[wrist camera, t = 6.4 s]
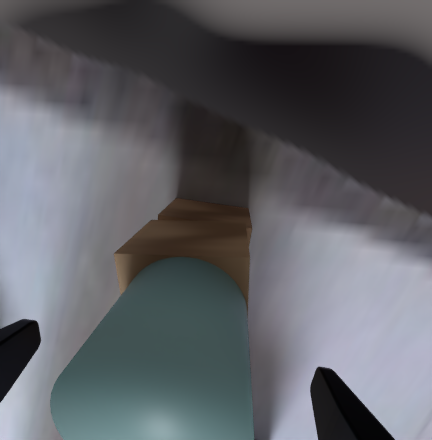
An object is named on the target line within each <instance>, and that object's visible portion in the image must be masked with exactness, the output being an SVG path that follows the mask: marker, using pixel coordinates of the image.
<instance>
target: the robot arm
mask: <svg viewBox="0 0 432 440" xmlns="http://www.w3.org/2000/svg"><path fill="white" fill-rule="evenodd" d="M40 342H41V337H40V331H39V325H38V322H37V321H35V320H29V319H22V320H19V321H17V322H15V323H13V324H10V325H8V326H6V327H4V328H1V329H0V402H1V401H2V400H3V398H4V397H5V396H6V394H7V393H8V392H9V390H10V389H11V387H12V386H13V384H14V383H15V381H16V380H17V378H18V377H19V375H20V374H21V373H22V371H23V370H24V368H25V367H26V365H27V364H28V362H29V361H30V359H31V358H32V356H33V355H34V354H35V352H36V351H37V349H38V347H39V345H40ZM310 393H311V399H312V405H313V411H314V417H315V423H316V429H317V435H318V440H395V439H394V438H393V437H392V436H391V434H390V433H389V432H388V431H387V430H386V429H385V428H384V427H383V425H382V424H381V423H380V422H379V421H378V420H377V419H376V418H375V416H374V415H373V414H372V413H371V412H370V411H369V410H368V409H367V408H366V406H365V405H364V404H363V403H362V402H361V401H360V400H359V399H358V397H357V396H356V395H355V394H354V393H353V392H352V391H351V390H350V388H349V387H348V386H347V385H346V384H345V383H344V382H343V381H342V379H341V378H340V377H339V376H338V375H337V374H336V373H335V372H334V371H333V370H332V369H330V368H325V367H318V368H317V369H316V371H315V374H314V377H313V380H312V383H311V387H310Z"/></svg>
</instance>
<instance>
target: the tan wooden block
mask: <svg viewBox="0 0 432 440" xmlns="http://www.w3.org/2000/svg"><path fill="white" fill-rule="evenodd" d="M114 257H115V263H116V269H117V275H118V281H119V287H120V293H121V295H122V293H123V292H124V291H125V290H126V288H127V287H128V286H129V284H130V283H131V282H132V280H133V279H134V278H135V277H136V275H137V274H138V273H139V272H140V271H141V270H143V269H144V268H145V267H147V266H148V265H150V264H151V263H154V262H156V261H158V260H162V259H165V258H171V257H191V258H196V259H200V260H203V261H206V262H209V263H211V264H213V265H215V266H217V267H218V268H220V269H222V270H223V271H224V272H226V273H227V274H228V275H229V276H230V277H231V278H232V279H233V280H234V281H235V282H236V284H237V285H238V286H239V288H240V290H241V291H242V293H243V296H244V298H245V301H246V306H247V318H248V291H249V265H250V255H249V247H248V238H247V230H246V221H189V220H151V221H150V222H148V223H147V224H146V225H145V226H144V227H143V228H142V229H141V230H140V231H138V232H137V233H136V234H135V235H134V236H133V237H132V238H131V239H130V240H128V241H127V242H126V243H125V244H124V245H123V246H122V247H121V248H120V249H119V250H117V251H116V252H115V253H114Z"/></svg>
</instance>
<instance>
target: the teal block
mask: <svg viewBox="0 0 432 440" xmlns="http://www.w3.org/2000/svg"><path fill="white" fill-rule="evenodd" d="M50 406H51V413H52V417H53V421H54V423H55V426H56V428H57V430H58V431H59V433H60V435H61V436H62V438H63V439H64V440H254V424H253V407H252V389H251V372H250V354H249V337H248V320H247V306H246V301H245V298H244V296H243V293H242V291H241V290H240V288H239V286H238V285H237V284H236V282H235V281H234V280H233V279H232V278H231V277H230V276H229V275H228V274H227V273H226V272H224V271H223V270H222V269H220V268H218V267H217V266H215V265H213V264H211V263H209V262H206V261H203V260H200V259H196V258H191V257H171V258H165V259H162V260H158V261H156V262H154V263H151V264H150V265H148V266H147V267H145V268H144V269H143V270H141V271H140V272H139V273H138V274H137V275H136V277H135V278H134V279H133V280H132V282H131V283H130V284H129V286H128V287H127V288H126V290H125V291H124V292H123V293H122V295H121V296H120V297H119V299H118V300H117V301H116V303H115V304H114V305H113V307H112V308H111V309H110V310H109V312H108V313H107V314H106V316H105V317H104V318H103V320H102V321H101V322H100V324H99V325H98V326H97V327H96V329H95V330H94V331H93V333H92V334H91V335H90V337H89V338H88V339H87V340H86V342H85V343H84V344H83V346H82V347H81V348H80V350H79V351H78V352H77V354H76V355H75V356H74V357H73V359H72V360H71V361H70V363H69V364H68V365H67V367H66V368H65V369H64V370H63V372H62V373H61V374H60V376H59V377H58V379H57V381H56V382H55V384H54V387H53V390H52V393H51V400H50Z"/></svg>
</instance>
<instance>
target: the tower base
mask: <svg viewBox="0 0 432 440" xmlns="http://www.w3.org/2000/svg"><path fill="white" fill-rule="evenodd" d="M158 220H189V221H246V230H247V238H248V247H249V243H250V238H251V232H252V225H251V219H250V214H249V209H248V208H243V207H236V206H229V205H222V204H215V203H208V202H201V201H194V200H187V199H180V198H176V199H175V200H174V201H173V202H171V203H170V204H169V205H168V206H167V207H166V208H165V209H164V210H163V211H162V212H161V213H159V214H158Z"/></svg>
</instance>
